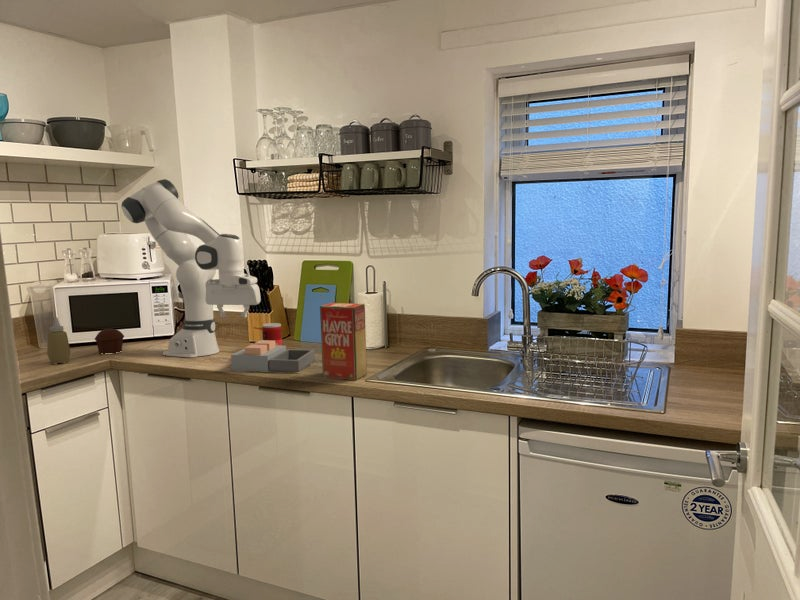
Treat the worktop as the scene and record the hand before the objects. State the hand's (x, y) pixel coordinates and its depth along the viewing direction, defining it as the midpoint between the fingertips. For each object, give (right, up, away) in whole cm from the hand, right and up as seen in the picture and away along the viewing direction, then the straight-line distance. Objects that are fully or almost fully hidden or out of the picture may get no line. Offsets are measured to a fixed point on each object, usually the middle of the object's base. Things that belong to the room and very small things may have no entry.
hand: (233, 316), depth 224 cm
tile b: (+10, -12, +8) cm, 17 cm away
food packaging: (+41, -20, -11) cm, 48 cm away
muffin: (-62, -16, +35) cm, 73 cm away
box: (+21, -19, +4) cm, 28 cm away
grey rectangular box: (+8, -18, +6) cm, 21 cm away
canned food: (+7, -15, +33) cm, 37 cm away
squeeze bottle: (-73, -19, +17) cm, 78 cm away
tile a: (+8, -13, 0) cm, 15 cm away
